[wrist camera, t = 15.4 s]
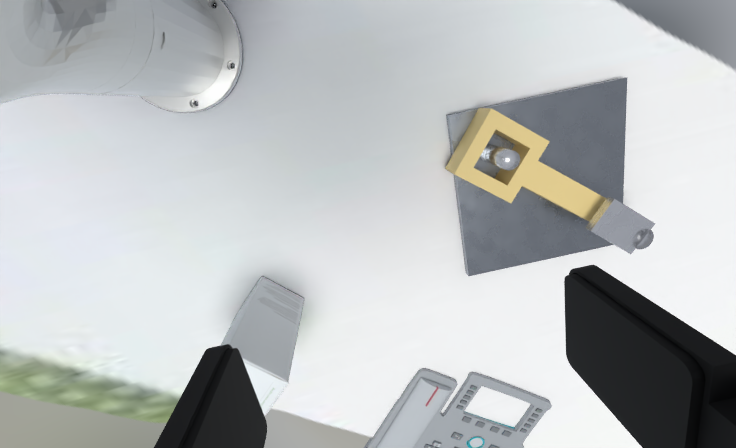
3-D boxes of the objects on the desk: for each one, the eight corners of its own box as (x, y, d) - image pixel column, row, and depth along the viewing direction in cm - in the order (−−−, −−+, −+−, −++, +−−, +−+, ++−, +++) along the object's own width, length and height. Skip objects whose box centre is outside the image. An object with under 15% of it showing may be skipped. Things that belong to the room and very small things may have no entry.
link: (445, 168, 42) (454, 174, 38) (478, 107, 40) (491, 108, 37) (570, 232, 46) (588, 242, 42) (606, 179, 44) (628, 186, 40)
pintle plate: (446, 115, 41) (466, 117, 34) (620, 77, 41) (672, 73, 35) (465, 272, 47) (485, 299, 41) (615, 240, 48) (659, 261, 41)
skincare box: (273, 343, 49) (245, 448, 34) (228, 320, 47) (178, 421, 32) (306, 296, 47) (292, 385, 32) (260, 271, 45) (223, 353, 30)
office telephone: (362, 464, 54) (427, 361, 49) (362, 448, 57) (423, 349, 52) (492, 503, 59) (564, 413, 54) (486, 487, 61) (554, 399, 56)
